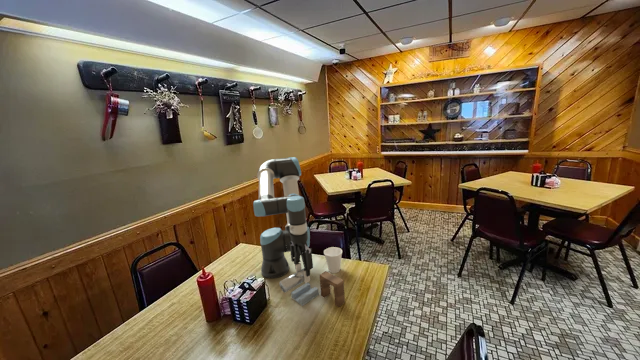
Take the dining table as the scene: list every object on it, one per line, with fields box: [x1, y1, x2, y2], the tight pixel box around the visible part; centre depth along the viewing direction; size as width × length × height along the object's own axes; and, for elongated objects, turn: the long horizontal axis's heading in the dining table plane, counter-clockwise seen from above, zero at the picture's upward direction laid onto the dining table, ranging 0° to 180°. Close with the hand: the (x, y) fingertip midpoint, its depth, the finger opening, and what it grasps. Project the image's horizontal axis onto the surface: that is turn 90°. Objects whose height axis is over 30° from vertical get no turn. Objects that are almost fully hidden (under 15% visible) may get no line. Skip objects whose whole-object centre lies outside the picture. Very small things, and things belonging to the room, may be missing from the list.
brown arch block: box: [319, 270, 346, 308], centre depth 113 cm, size 11×4×11 cm, turn 44°
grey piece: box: [279, 267, 305, 293], centre depth 112 cm, size 13×5×5 cm, turn 133°
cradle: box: [290, 282, 320, 307], centre depth 117 cm, size 8×10×3 cm
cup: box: [323, 246, 343, 274], centre depth 135 cm, size 10×10×11 cm
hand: (303, 279), depth 115 cm, fingers closed on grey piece, 5 cm apart
